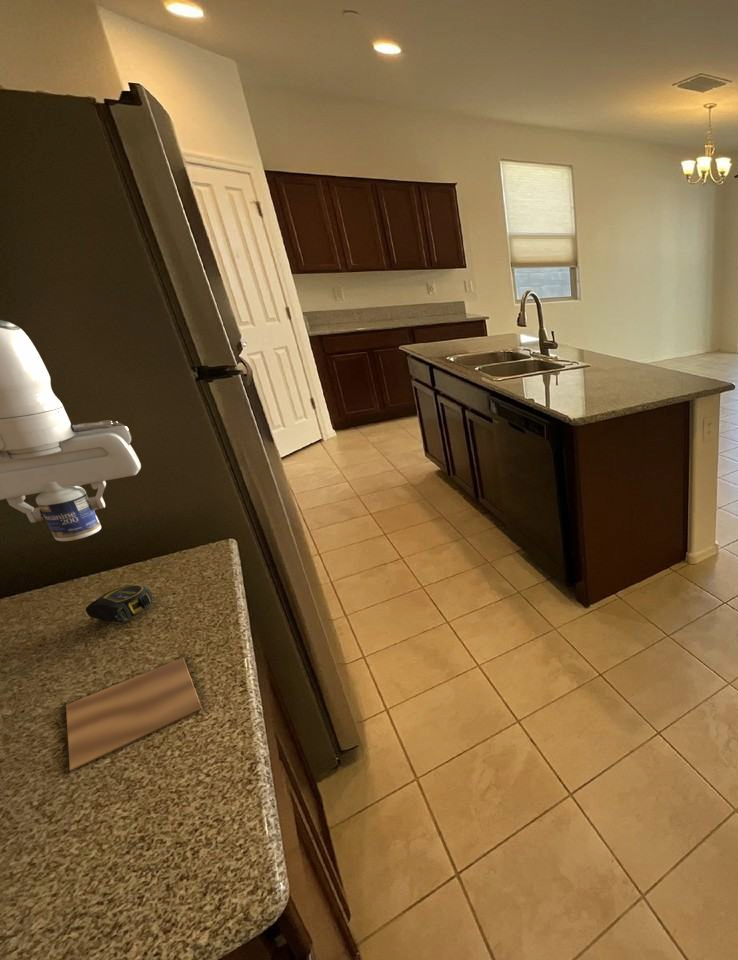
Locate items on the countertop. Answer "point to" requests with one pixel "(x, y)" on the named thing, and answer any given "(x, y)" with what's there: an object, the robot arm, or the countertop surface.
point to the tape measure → (121, 603)
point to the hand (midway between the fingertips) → (69, 514)
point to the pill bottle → (67, 512)
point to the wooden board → (129, 711)
